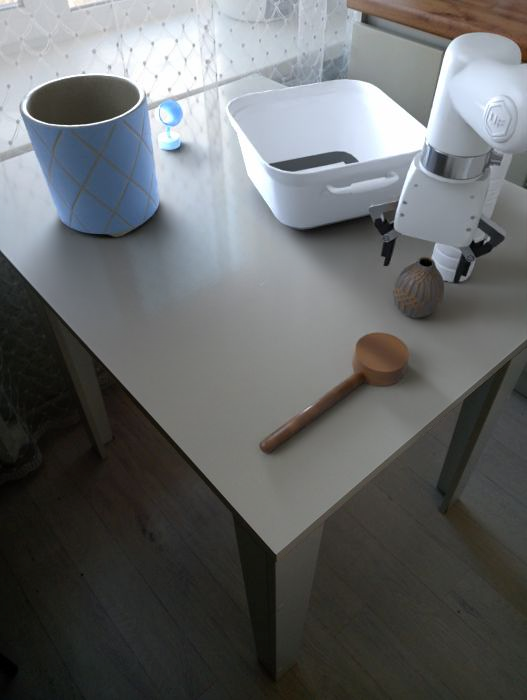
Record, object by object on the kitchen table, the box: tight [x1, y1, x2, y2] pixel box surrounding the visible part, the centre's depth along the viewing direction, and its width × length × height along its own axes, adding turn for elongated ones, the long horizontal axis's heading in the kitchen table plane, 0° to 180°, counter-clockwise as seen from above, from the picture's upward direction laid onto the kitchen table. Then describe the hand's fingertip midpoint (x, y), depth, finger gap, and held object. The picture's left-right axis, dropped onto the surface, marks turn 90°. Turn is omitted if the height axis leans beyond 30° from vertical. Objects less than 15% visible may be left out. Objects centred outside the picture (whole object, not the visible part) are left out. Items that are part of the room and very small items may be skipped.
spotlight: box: [154, 98, 184, 151], centre depth 112 cm, size 5×10×7 cm
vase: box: [393, 256, 445, 319], centre depth 79 cm, size 7×7×9 cm
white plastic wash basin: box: [225, 78, 427, 231], centre depth 96 cm, size 34×29×15 cm
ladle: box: [259, 331, 410, 454], centre depth 70 cm, size 24×7×3 cm, turn 131°
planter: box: [19, 73, 160, 238], centre depth 92 cm, size 19×19×20 cm
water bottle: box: [430, 147, 514, 283], centre depth 79 cm, size 9×6×25 cm
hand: (421, 268), depth 77 cm, fingers open, 9 cm apart
